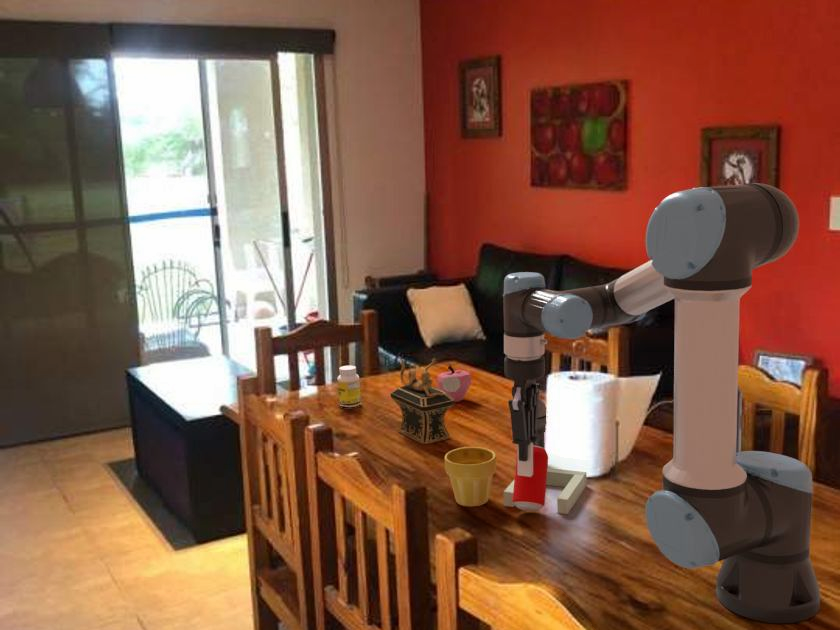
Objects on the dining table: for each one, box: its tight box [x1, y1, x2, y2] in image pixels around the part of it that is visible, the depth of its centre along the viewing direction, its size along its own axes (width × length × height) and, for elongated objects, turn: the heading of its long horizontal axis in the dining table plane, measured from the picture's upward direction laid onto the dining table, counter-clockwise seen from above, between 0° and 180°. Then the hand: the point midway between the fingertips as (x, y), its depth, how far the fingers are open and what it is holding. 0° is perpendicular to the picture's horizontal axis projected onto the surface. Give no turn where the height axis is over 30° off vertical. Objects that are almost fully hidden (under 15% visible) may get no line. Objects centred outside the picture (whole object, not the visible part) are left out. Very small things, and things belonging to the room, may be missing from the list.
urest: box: [503, 467, 588, 515], centre depth 183 cm, size 15×13×3 cm
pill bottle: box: [336, 365, 362, 407], centre depth 251 cm, size 6×6×11 cm
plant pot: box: [444, 446, 497, 508], centre depth 182 cm, size 10×10×10 cm
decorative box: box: [390, 356, 456, 445], centre depth 224 cm, size 20×10×20 cm, turn 31°
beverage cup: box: [531, 398, 547, 449], centre depth 200 cm, size 7×7×20 cm
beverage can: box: [513, 446, 549, 512], centre depth 176 cm, size 6×6×12 cm
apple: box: [437, 364, 472, 403], centre depth 251 cm, size 10×9×10 cm
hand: (525, 474), depth 172 cm, fingers closed
